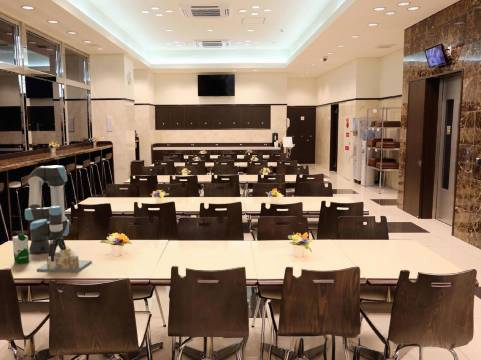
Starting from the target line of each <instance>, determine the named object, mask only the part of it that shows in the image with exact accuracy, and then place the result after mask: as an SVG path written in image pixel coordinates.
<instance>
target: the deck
mask: <svg viewBox="0 0 481 360" xmlns="http://www.w3.org/2000/svg"><path fill="white" fill-rule="evenodd" d="M71 251H72V249H71V248H70V247H69V246H66V250H64V253H65V256H66V257H68V256H70V258H74V256H75V254H69V252H71ZM92 263H93V262H92V260H87V259H86V260H85V259H83V260H81V259H79V267H78V268H76V269H75V270H65V269H47V263H45V264H43V265H41V266H39V267H37V268H36V272H46V273H47V272H48V273H49V272H50V273H53V272H54V273H69V272H70V273H72V274H73V273H74V274H77V273H78V272H80V271H82V270H83V269H85V268H86V267H88V266H89V265H91V264H92Z"/></svg>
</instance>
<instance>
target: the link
mask: <svg viewBox="0 0 481 360" xmlns="http://www.w3.org/2000/svg"><path fill="white" fill-rule="evenodd" d="M55 260H56V266H51V256H49V255H48V256H47V257H46V264H47V269H65V270H75V269H76V268H78V267H79V260H80V259H79V256H78V255H74V258H70V255H69V256H68V257H66V256H60V255H59V256H57V255H55Z"/></svg>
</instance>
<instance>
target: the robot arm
mask: <svg viewBox="0 0 481 360" xmlns="http://www.w3.org/2000/svg"><path fill="white" fill-rule="evenodd" d="M67 182H68V176H67V171H66V167H65V166H64V165H46V166H45V165H41V166H38V167H36V168H35V169H33V170H32V171H31V173H30V174H29V175H28V180H27V184H28V185H29V192H28V195H29V196H28V207H27V208H25V209H24V218H25V220H26V221H32V222H30V226H29V229H30V245H29V247H28V249H29V255H44V254H48V257H49V256H51V266H56V260H55V256H56V251H57V247H59V249H60V250H59V256H65V253H64V250H66V247H67V246H66V242H65V239H64V236H68V235H69V231H70V220H69V219H68V217H67V216H66V214H65V197H64V196H65V195H64V194H65V193H64V186H65V185H66V183H67ZM44 183H47V185H48V187H50V198H51V199H50V201H51V206H49V207H46V206H45V207H42V192H43V191H42V189H43V187H42V186H43V185H44ZM49 238H52V240H50V241H49Z"/></svg>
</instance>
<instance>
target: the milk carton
mask: <svg viewBox="0 0 481 360" xmlns="http://www.w3.org/2000/svg"><path fill="white" fill-rule="evenodd" d="M12 244H13V245H12V246H13V259H14V263H15V264H16V265H23V264H27V263H28V264H29V263H30V253H29V236H27V235H25V233H18V234H17V235H15V236H12Z"/></svg>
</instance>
